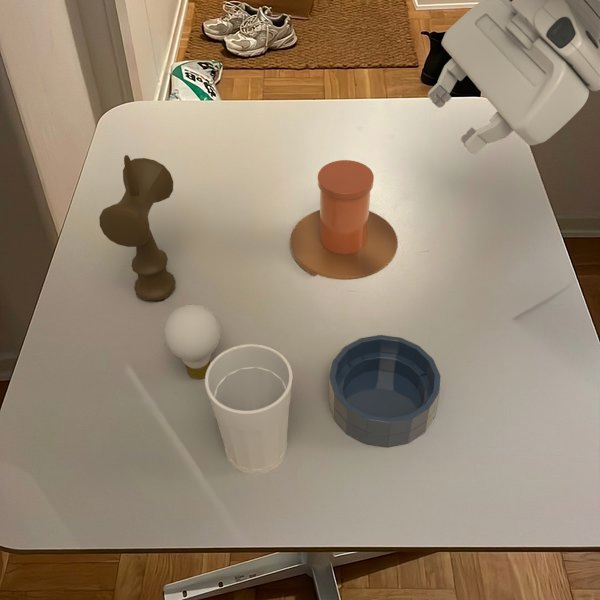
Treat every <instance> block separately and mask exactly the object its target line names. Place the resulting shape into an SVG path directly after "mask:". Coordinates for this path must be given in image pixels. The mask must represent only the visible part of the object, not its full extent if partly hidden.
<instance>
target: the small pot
mask: <svg viewBox="0 0 600 600" xmlns="http://www.w3.org/2000/svg"><path fill="white" fill-rule="evenodd" d="M374 179H375V175H374V172H373V171H372V169H371V168H370V167H369V166H368V165H366V164H364V163H363V162H359V161H357V160H349V159H341V160H335V161H331V162H328V163H327V164H325V165H324V166H322V167H321V169H320V170H319V171H318V173H317V186H318V189H319V210H320V241H321V244H322V245H323V246H324V247H325V248H326V249H327V250H329V251H331V252H333V253H337V254H351V253H355V252H357V251H359V250H361V249H362V248H363V247H364V246H365V245H366V243H367V236H368V221H369V211H370V204H371V191H372V190H373V187H374V181H375V180H374Z"/></svg>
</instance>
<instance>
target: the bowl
mask: <svg viewBox="0 0 600 600" xmlns="http://www.w3.org/2000/svg"><path fill="white" fill-rule="evenodd" d="M441 377H442V376H441V374H440V371H439V369H438V367H437V364H436V362H435V359H434V358H433V357H432V356H430V354H429V353H428V352H426V351H425V350H424V349H423V347H421V346H420V345H418V344H416V343H414V342H411V341H410V340H407V339H405V338H403V337H401V336H394V335H393V336H392V335H385V334H377V335H372V336H365V337H361V338H358V339H356V340H354V341H353V342H351V343H349V344H347V345H345V346H344V347H343V348H341V350H340V351H339V352H338V354H337V355H336V356H335V358H334V359H333V360H332V363H331V367H330V373H329V380H328V381H329V383H328V405H329V408H330V412H331V415H332V418H333V420H334V422H335V423H336V424H337V425H338V427H340V428H341V430H342V431H343V432H344V433H345V434H346V435H347V436H349V437H351V438H353V439H355V440H357V441H358V442H360V443H362V444H364V445H369V446H374V447H375V446H376V447H380V448H381V447H382V448H392V447H398V446H402V445H403V446H404V445H408V444H410V443H412V442H413V441H414V440H416V439H417V438H419V437H421V436H422V435H424V434H425V433H426V432H427V431H428V429H429V427H430V425H431V424H432V423H433V421H434V419H435V418H436V411H437V406H438V401H439V397H440V388H441Z"/></svg>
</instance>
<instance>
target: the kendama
mask: <svg viewBox="0 0 600 600" xmlns="http://www.w3.org/2000/svg"><path fill="white" fill-rule="evenodd" d="M123 163H124V167H123V169H122V181H123V185H124V189H125V191H124V194H123V196H122V198H121V199H120V201H118V202H117V203H115V204H112V205H110V206H107V207H105V208H103V209H102V210H101V212H100V214H99V218H98V219H99V227H100V229H101V231H102V233H103V235H104V236H105V237H106V238H107V239H108V240H109V241H110V242H112V243H115V244H116V245H118V246H122V247H127V248H135V254H134V256H133V258H132V261H131V265H130V266H131V270H132V272H134V273H135V274H136V275H137V278H136V280H135V281H134V287H133V289H134V290H133V291H134V294H135V296H137V297H138V298H140V299H141V300H144V301H150V302H151V301H160V300H164V299H166V298H167V297H169V296H170V295H171V294H172V293H173V291H174V290H175V287H176V279H175V276H174V274H172V272H170V271H168V269H167V265H168V262H169V258H168V254H167V253H166V252H165V251H164V250H163V249H160V248H159V246H158V244H157V242H156V240H155V237H154V235H153V233H152V230H151V227H150V221H149V214H150V211H151V208H152V206H153V205H154V204H155V203H159V202H162V201H165V200H167V199H169V198H170V197H171V195H172V193H173V192H174V179H173V177H172V174H171V172H170V171H169V170H168V168H167V167H166V165H164V164H163V163H161V162H158V161H157V160H155V159H151V158H147V157H138V158H133V159H131V158H130V156H129V155H128V154H125V155H124V156H123Z"/></svg>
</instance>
